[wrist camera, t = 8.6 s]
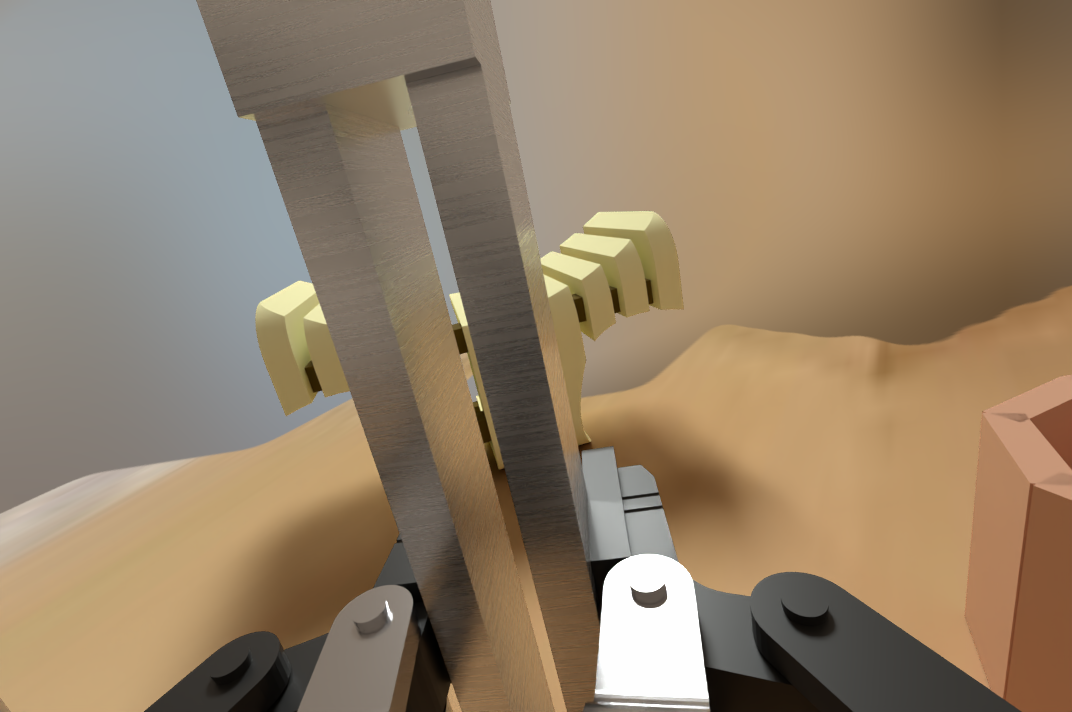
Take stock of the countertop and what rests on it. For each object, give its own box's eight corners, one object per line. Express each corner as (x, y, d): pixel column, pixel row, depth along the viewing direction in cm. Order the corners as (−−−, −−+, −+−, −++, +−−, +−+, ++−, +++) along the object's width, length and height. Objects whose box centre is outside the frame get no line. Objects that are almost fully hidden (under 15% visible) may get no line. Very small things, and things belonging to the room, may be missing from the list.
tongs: (584, 914, 14) (290, -88, 7) (672, 912, 14) (461, -142, 7) (587, 1092, 12) (98, -273, 4) (697, 1095, 11) (381, -382, 4)
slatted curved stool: (335, 538, 37) (243, 311, 32) (358, 446, 52) (299, 280, 47) (697, 426, 42) (672, 210, 36) (623, 371, 57) (598, 212, 51)
